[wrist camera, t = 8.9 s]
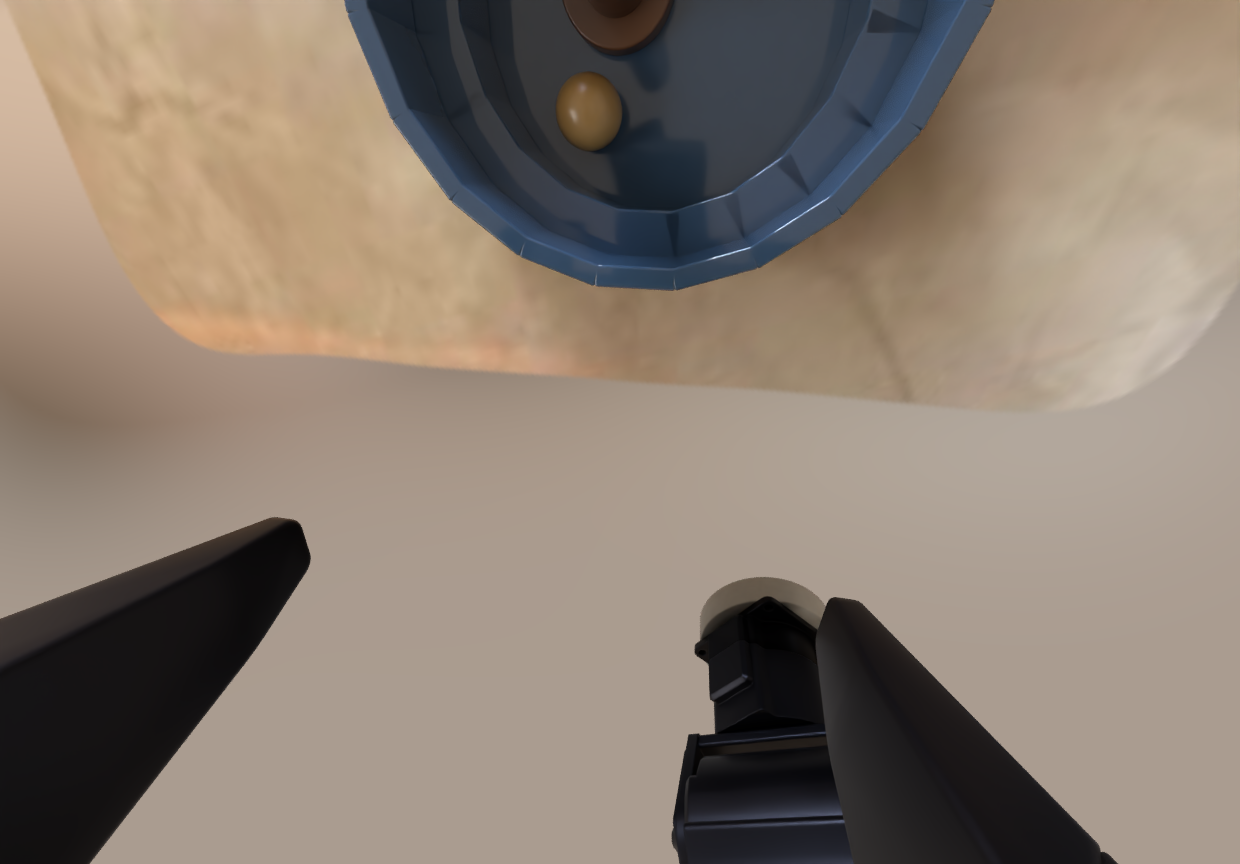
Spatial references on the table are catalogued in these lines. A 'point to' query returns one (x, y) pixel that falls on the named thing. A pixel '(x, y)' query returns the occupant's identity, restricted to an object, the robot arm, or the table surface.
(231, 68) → the table surface
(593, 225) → the bowl
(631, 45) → the pestle
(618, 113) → the chickpea
